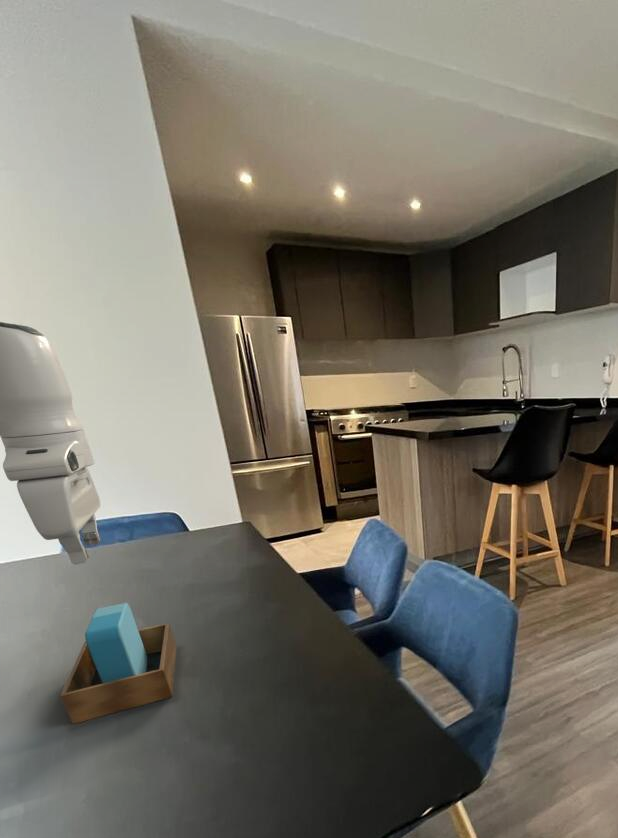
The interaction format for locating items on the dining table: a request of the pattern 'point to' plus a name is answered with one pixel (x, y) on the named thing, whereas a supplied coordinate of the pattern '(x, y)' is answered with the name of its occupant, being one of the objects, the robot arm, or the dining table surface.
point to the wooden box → (121, 680)
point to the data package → (116, 643)
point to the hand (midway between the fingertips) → (87, 552)
